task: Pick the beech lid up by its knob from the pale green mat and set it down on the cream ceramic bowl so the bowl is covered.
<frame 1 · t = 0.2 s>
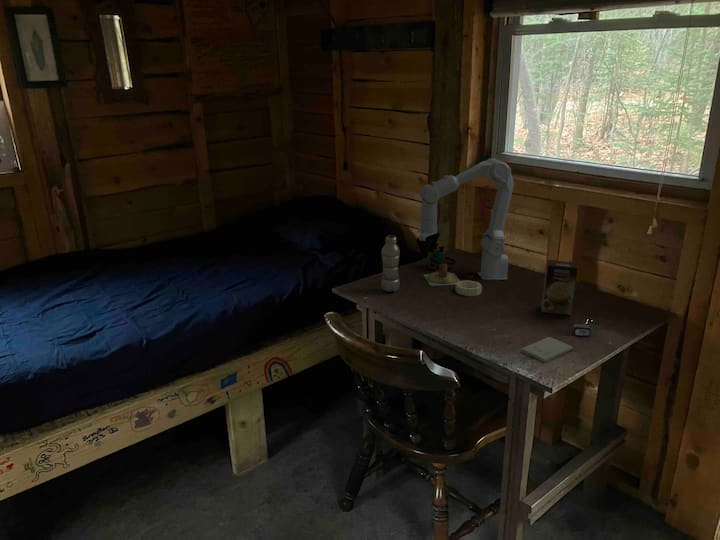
hand: (427, 254, 207), 10 cm above the table, tool pointing down, fingers open, 7 cm apart
lid: (442, 279, 209), point 1 cm above the table, touching mat
mat: (442, 280, 209), on the table
plastic bottle: (390, 291, 200), on the table
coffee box: (555, 310, 183), on the table
bowl: (468, 292, 198), on the table
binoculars: (441, 269, 222), on the table
external hard drive: (546, 353, 157), on the table
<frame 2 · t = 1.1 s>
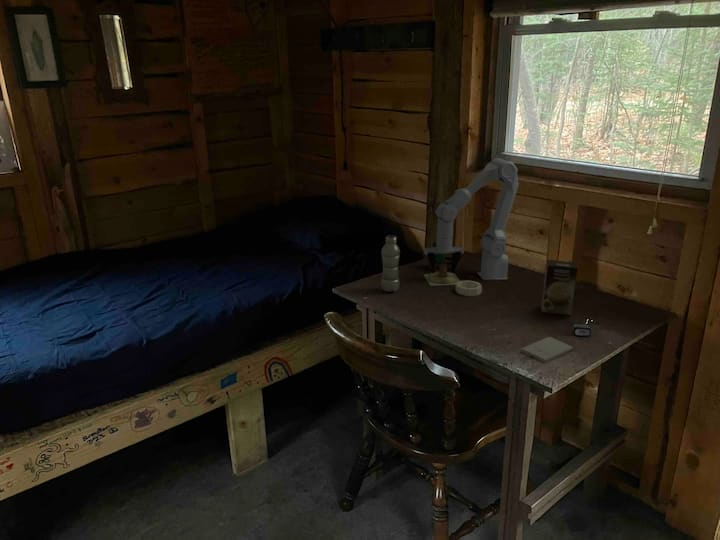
hand: (442, 272, 208), 3 cm above the table, tool pointing down, fingers open, 7 cm apart
nothing on the table moved.
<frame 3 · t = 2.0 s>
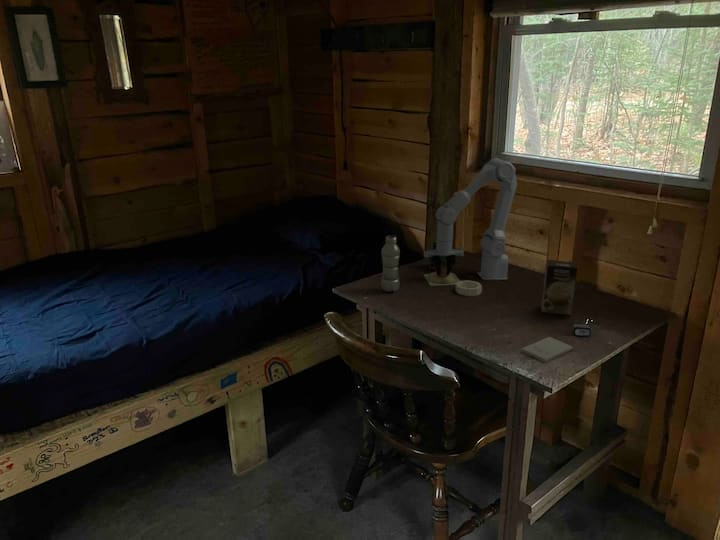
hand: (442, 274, 208), 2 cm above the table, tool pointing down, fingers closed on lid, 3 cm apart
lid: (442, 279, 209), point 1 cm above the table, touching gripper, mat
everything else where it was.
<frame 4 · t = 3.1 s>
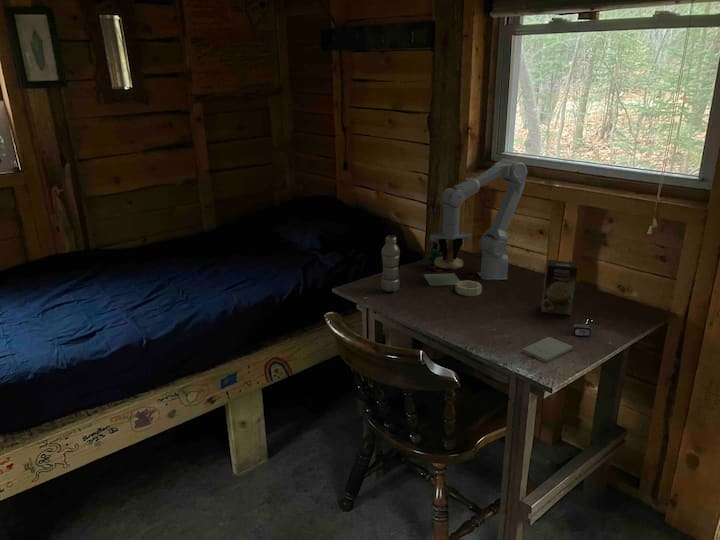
hand: (449, 259, 204), 9 cm above the table, tool pointing down, fingers closed on lid, 3 cm apart
lid: (448, 264, 204), point 7 cm above the table, touching gripper
everything else where it was.
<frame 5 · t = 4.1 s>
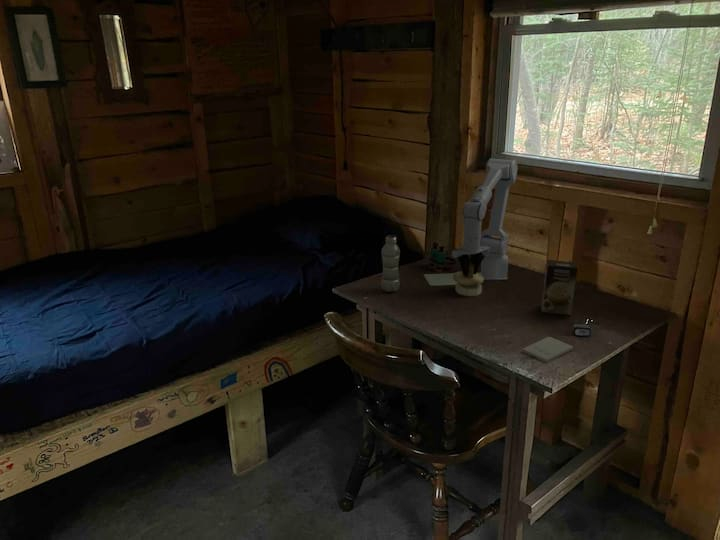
hand: (469, 274, 195), 7 cm above the table, tool pointing down, fingers closed on lid, 3 cm apart
lid: (468, 279, 196), point 5 cm above the table, touching gripper
everything else where it was.
when the fingers open (6 cm above the table, at t = 4.5 s): lid drops 1 cm, resting on bowl.
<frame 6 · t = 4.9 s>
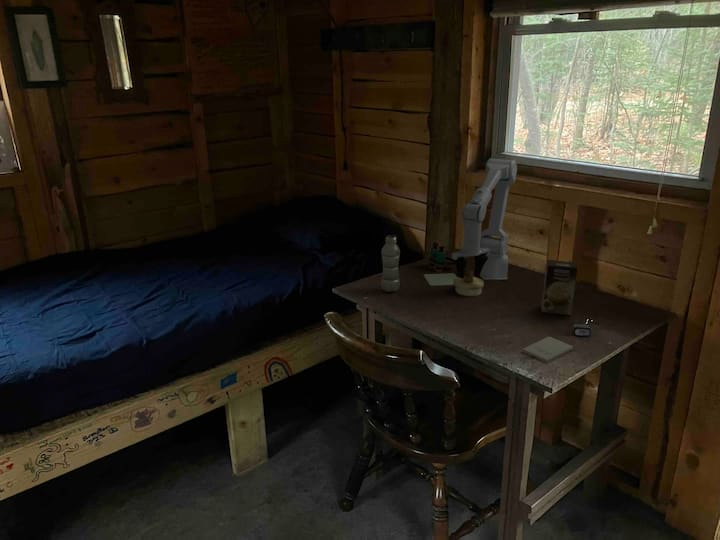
hand: (469, 276, 196), 6 cm above the table, tool pointing down, fingers open, 6 cm apart
lid: (468, 284, 197), point 3 cm above the table, touching bowl
everything else where it was.
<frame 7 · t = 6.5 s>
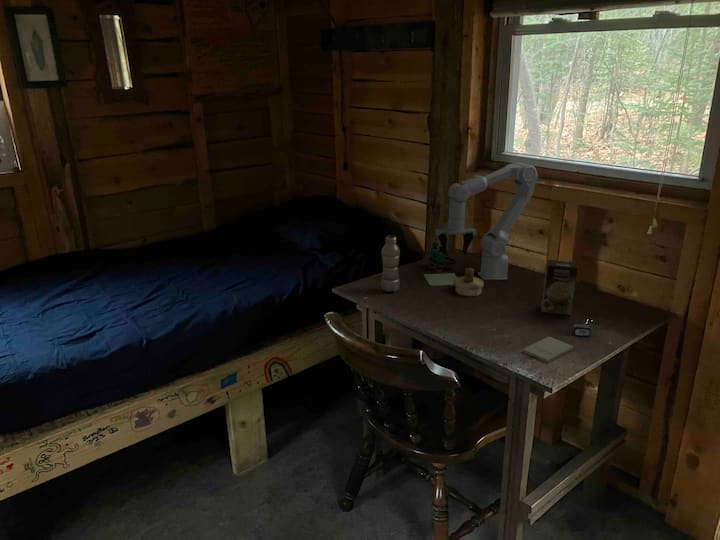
hand: (454, 253, 206), 10 cm above the table, tool pointing down, fingers open, 7 cm apart
nothing on the table moved.
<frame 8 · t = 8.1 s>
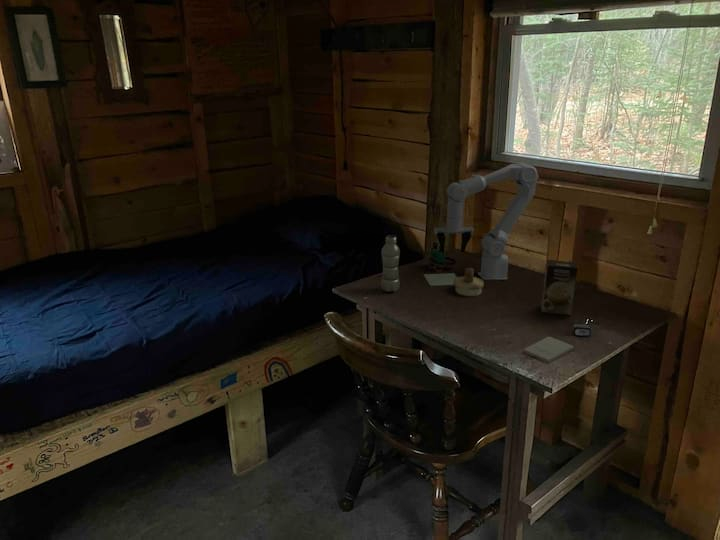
hand: (452, 252, 208), 10 cm above the table, tool pointing down, fingers open, 7 cm apart
nothing on the table moved.
at the end: lid 0.3 cm off-centre on the bowl, point 3.0 cm above the bowl's base; lid tilted 0°; the gripper is holding nothing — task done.
